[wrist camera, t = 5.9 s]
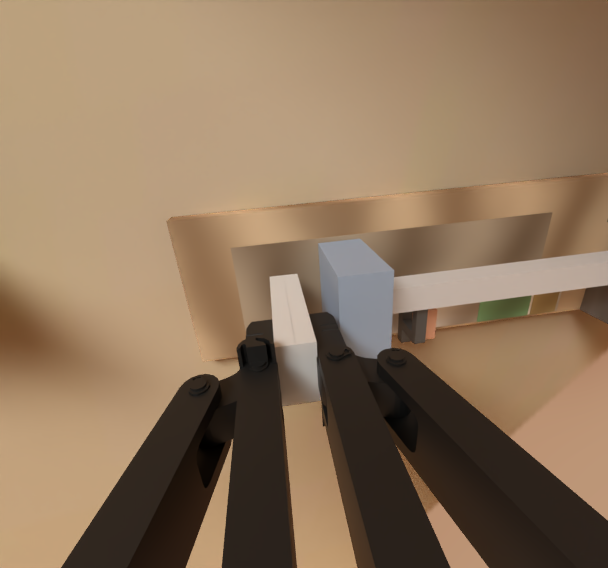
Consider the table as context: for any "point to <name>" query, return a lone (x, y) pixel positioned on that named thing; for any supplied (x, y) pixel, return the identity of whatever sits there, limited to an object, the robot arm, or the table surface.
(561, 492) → the robot arm
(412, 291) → the grey hammer
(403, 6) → the table surface
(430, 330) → the orange small block
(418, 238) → the gauge bed
